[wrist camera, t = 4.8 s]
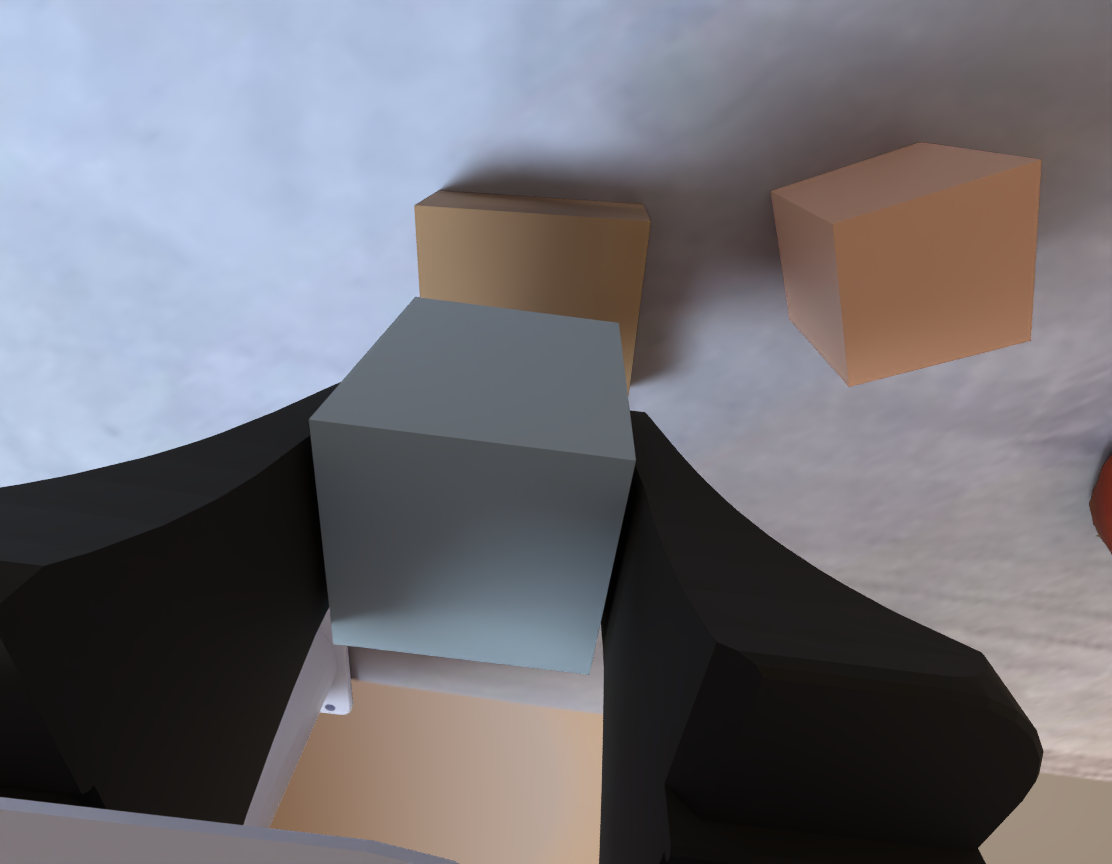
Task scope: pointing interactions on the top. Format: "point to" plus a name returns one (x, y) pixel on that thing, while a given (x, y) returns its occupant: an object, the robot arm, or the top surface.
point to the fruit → (1103, 504)
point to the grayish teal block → (476, 485)
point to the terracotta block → (911, 258)
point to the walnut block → (536, 256)
